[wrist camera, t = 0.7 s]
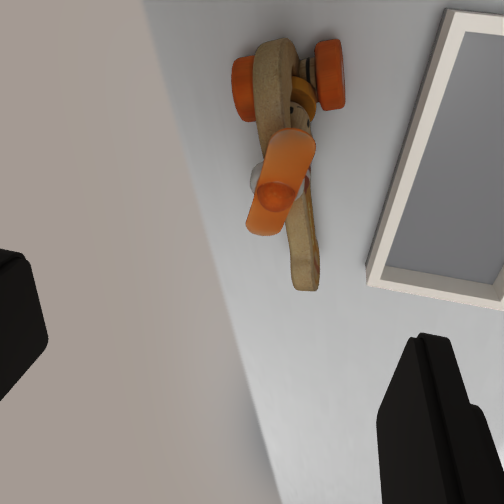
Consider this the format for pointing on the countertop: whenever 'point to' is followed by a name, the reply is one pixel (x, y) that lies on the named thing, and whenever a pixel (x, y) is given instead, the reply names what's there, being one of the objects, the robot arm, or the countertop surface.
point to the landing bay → (450, 174)
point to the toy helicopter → (287, 140)
